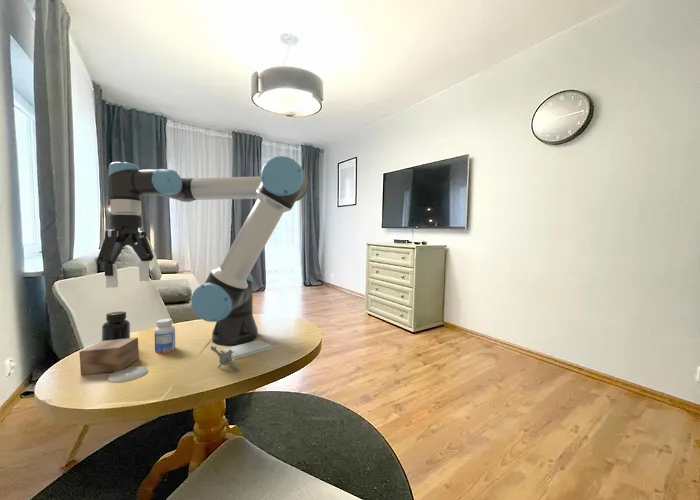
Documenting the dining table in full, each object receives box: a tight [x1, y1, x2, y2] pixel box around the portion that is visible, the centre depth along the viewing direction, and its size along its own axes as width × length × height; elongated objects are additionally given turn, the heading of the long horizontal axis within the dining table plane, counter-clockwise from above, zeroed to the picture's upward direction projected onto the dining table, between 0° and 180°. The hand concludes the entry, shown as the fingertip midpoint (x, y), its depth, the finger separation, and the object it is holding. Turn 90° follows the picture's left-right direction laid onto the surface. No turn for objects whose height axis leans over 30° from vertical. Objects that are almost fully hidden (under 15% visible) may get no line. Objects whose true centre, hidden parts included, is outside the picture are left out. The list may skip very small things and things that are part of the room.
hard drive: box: [221, 339, 272, 360], centre depth 93 cm, size 2×8×12 cm
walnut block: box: [78, 337, 140, 376], centre depth 80 cm, size 9×9×6 cm
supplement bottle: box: [101, 311, 131, 341], centre depth 91 cm, size 7×7×12 cm
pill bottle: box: [154, 318, 176, 354], centre depth 92 cm, size 6×5×10 cm
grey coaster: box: [107, 365, 148, 383], centre depth 75 cm, size 8×8×1 cm
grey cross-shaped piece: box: [209, 345, 241, 372], centre depth 81 cm, size 10×6×9 cm
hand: (129, 284), depth 91 cm, fingers open, 13 cm apart
